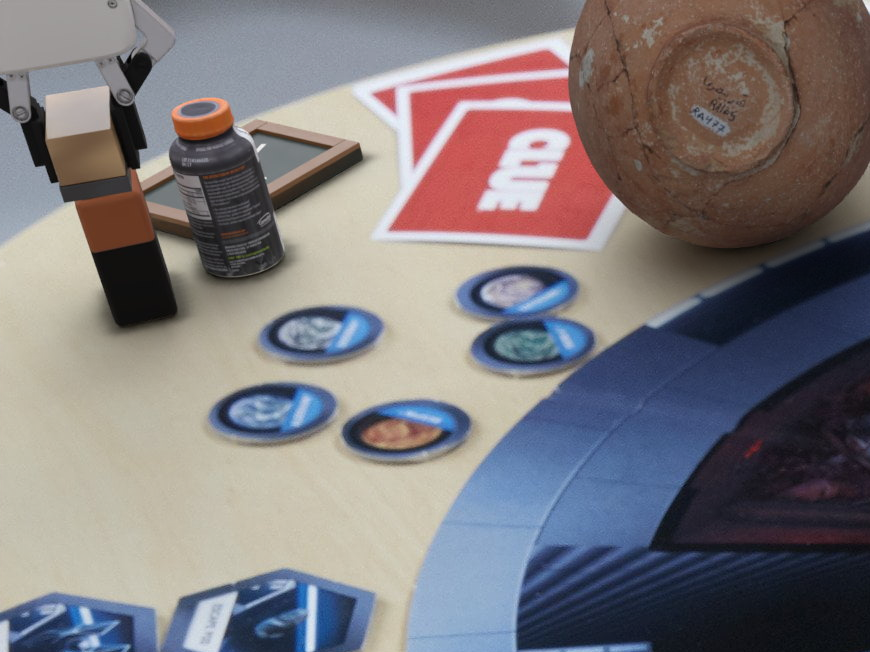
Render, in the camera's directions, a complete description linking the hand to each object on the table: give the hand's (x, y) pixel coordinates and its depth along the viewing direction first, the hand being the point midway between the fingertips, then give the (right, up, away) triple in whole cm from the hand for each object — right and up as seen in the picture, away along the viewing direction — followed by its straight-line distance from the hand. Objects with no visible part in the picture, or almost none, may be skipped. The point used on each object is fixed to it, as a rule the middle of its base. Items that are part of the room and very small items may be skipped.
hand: (94, 164), depth 152 cm
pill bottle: (+3, 0, +20) cm, 21 cm away
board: (0, +9, +30) cm, 31 cm away
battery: (-3, -4, +16) cm, 17 cm away
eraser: (0, 0, 0) cm, 1 cm away
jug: (+40, +5, +2) cm, 40 cm away
